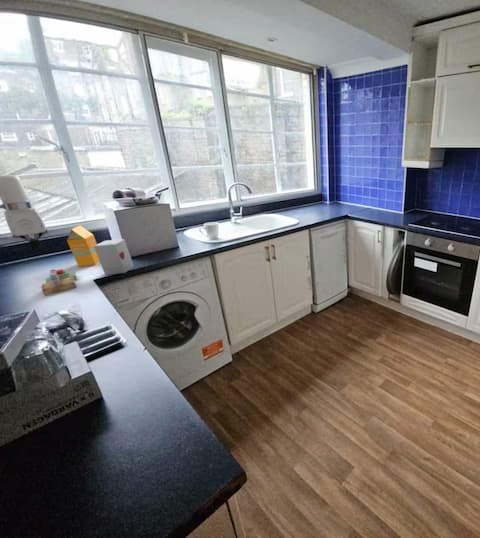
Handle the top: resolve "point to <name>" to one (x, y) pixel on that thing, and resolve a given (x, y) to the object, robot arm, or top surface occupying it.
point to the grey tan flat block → (55, 277)
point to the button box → (63, 276)
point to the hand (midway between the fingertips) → (37, 248)
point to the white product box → (114, 256)
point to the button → (60, 272)
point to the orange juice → (83, 246)
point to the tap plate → (58, 286)
